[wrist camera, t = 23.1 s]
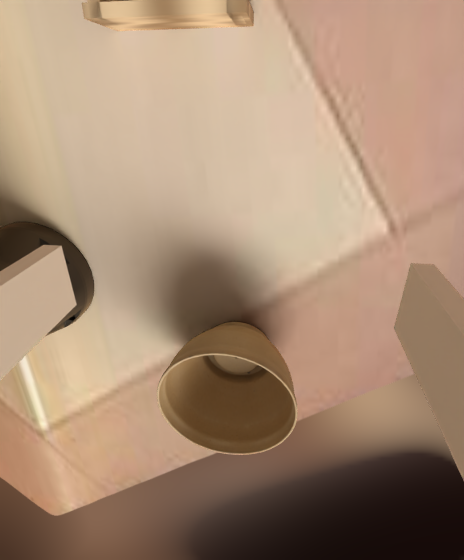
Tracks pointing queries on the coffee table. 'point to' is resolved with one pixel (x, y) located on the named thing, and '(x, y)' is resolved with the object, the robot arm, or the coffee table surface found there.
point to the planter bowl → (229, 391)
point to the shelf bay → (168, 14)
